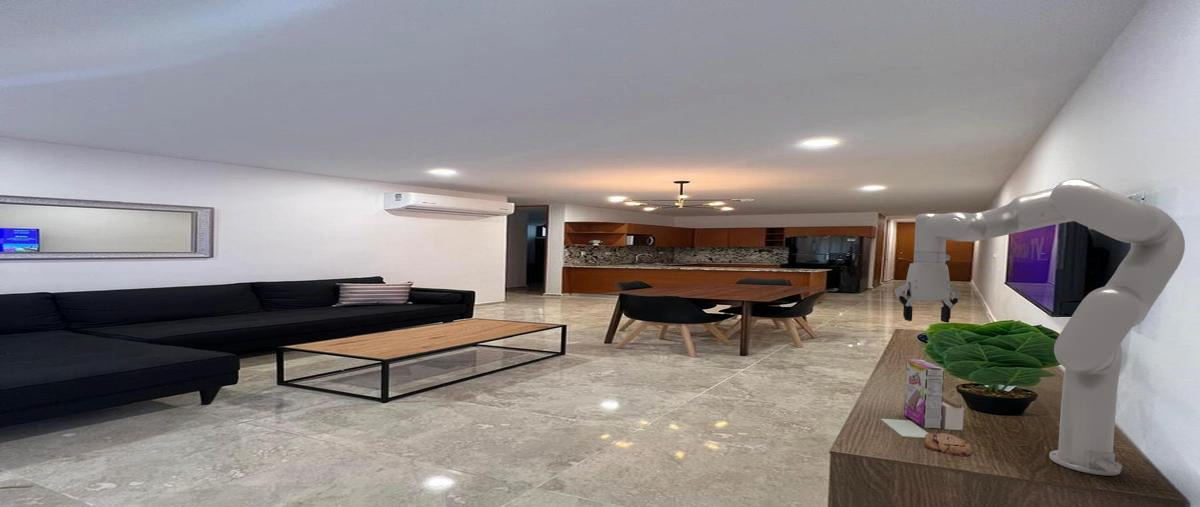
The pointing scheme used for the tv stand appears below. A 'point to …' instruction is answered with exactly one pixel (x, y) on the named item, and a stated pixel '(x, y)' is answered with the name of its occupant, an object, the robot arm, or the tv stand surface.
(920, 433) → the stub pad
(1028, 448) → the tv stand surface
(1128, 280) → the robot arm
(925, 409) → the candy bar box
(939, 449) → the cookie
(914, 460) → the tv stand surface
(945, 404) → the block
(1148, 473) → the tv stand surface
